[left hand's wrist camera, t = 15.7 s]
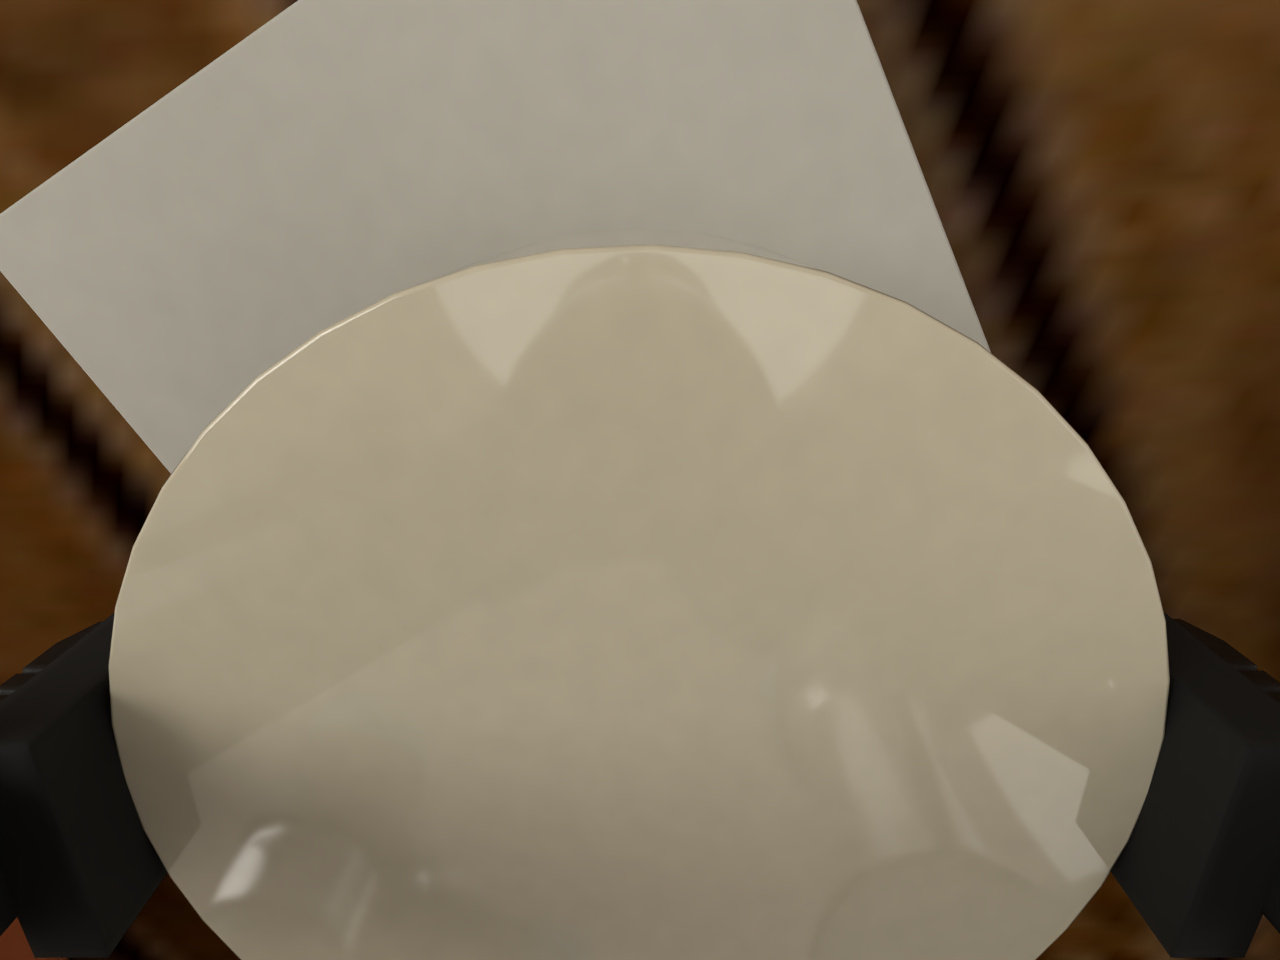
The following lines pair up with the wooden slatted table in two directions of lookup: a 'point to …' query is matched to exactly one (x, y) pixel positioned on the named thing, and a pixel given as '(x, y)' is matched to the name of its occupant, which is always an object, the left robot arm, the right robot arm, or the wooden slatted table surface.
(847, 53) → the grey mat
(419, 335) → the cap
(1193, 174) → the wooden slatted table surface
